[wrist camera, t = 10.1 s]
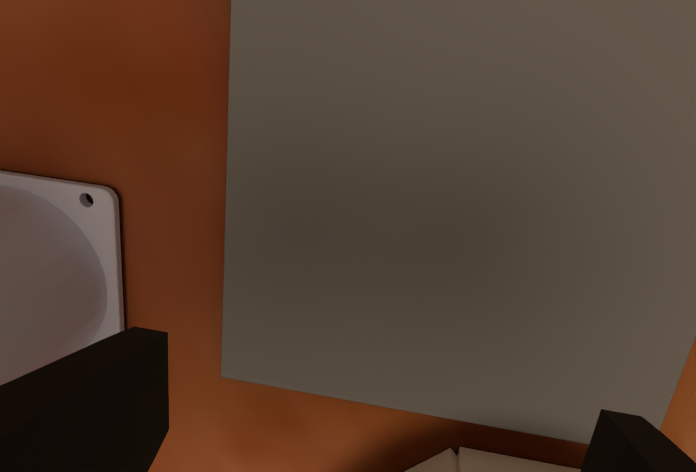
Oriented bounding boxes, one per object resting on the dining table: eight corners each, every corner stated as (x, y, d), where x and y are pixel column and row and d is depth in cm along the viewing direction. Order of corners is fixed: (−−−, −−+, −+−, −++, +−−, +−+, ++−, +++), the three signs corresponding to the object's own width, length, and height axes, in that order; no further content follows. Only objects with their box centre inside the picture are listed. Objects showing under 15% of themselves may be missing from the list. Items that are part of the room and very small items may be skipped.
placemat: (224, 371, 21) (220, 377, 21) (238, -93, 16) (233, -97, 15) (645, 447, 20) (649, 455, 19) (830, -39, 14) (841, -40, 14)
